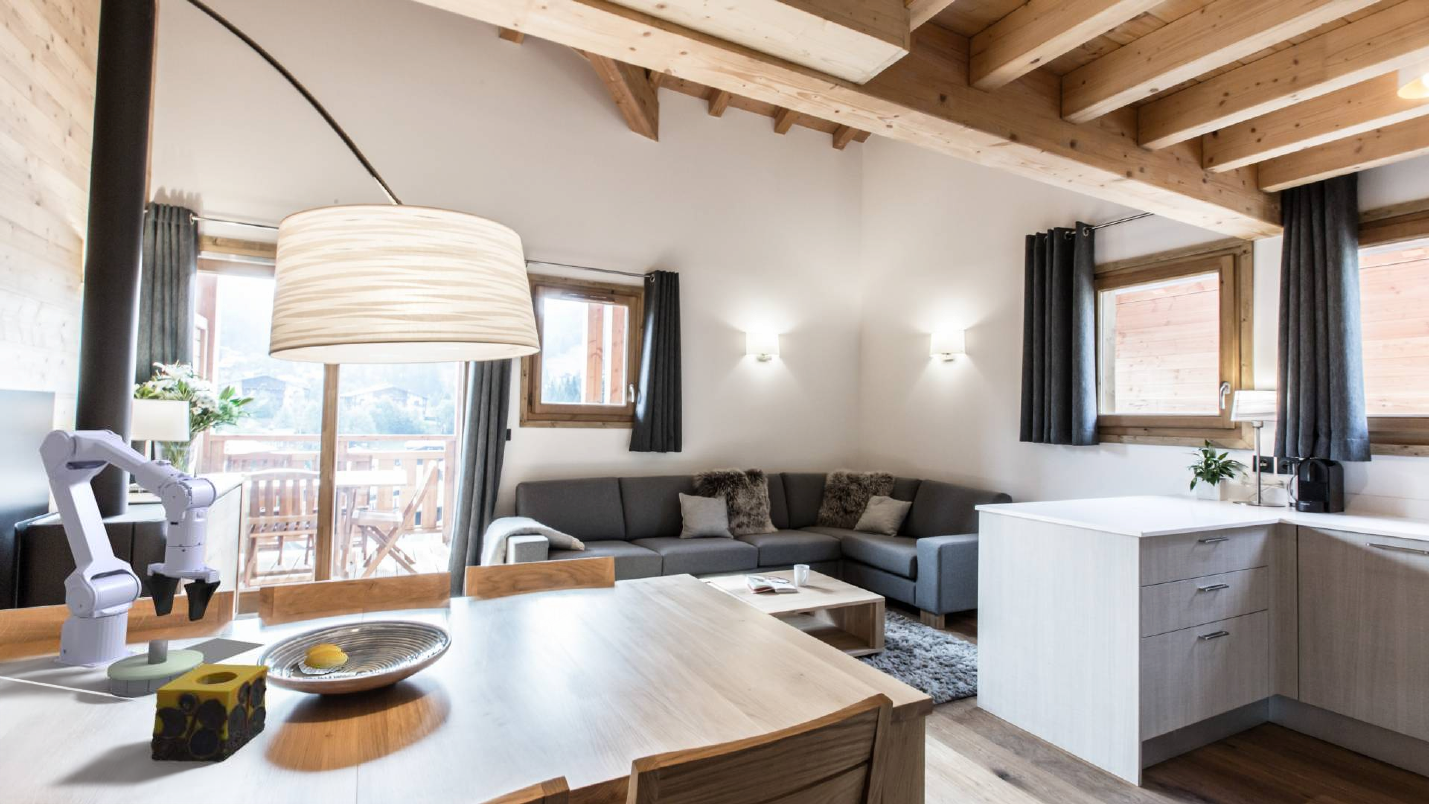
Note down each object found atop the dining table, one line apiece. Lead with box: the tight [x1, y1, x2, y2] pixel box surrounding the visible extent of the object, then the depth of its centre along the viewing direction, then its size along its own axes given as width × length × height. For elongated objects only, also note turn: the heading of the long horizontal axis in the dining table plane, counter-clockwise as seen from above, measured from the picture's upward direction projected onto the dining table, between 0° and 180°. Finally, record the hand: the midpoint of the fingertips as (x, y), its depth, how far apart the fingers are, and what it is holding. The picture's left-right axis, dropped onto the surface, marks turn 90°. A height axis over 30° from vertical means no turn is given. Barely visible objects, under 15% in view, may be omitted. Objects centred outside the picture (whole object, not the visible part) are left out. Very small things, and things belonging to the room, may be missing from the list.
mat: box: [180, 637, 266, 664], centre depth 135 cm, size 12×12×1 cm
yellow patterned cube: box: [150, 663, 269, 762], centre depth 99 cm, size 10×10×10 cm
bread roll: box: [304, 643, 349, 669], centre depth 130 cm, size 8×9×4 cm
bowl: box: [109, 668, 195, 699], centre depth 118 cm, size 11×11×3 cm
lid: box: [106, 638, 203, 681], centre depth 119 cm, size 13×13×4 cm
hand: (179, 617), depth 126 cm, fingers open, 7 cm apart
